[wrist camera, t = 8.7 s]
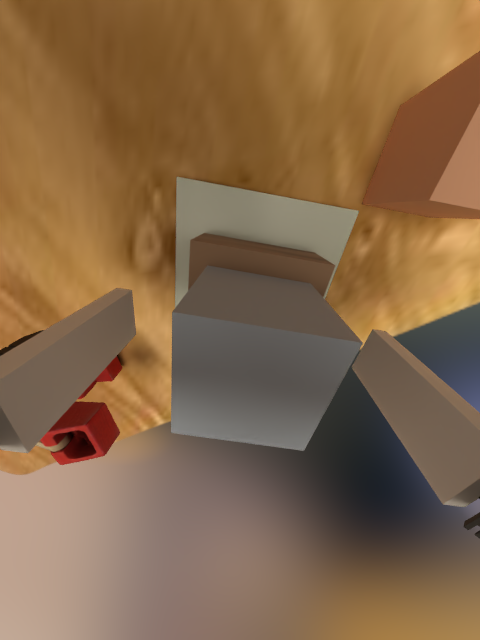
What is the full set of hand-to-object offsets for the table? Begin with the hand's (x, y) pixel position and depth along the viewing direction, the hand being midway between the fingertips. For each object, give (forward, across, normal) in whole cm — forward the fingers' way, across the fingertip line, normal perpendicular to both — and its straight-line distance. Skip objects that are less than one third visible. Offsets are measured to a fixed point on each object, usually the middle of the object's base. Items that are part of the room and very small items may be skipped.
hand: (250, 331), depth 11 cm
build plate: (+7, 0, +1) cm, 7 cm away
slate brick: (+2, 0, 0) cm, 2 cm away
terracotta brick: (+7, +9, +10) cm, 15 cm away
